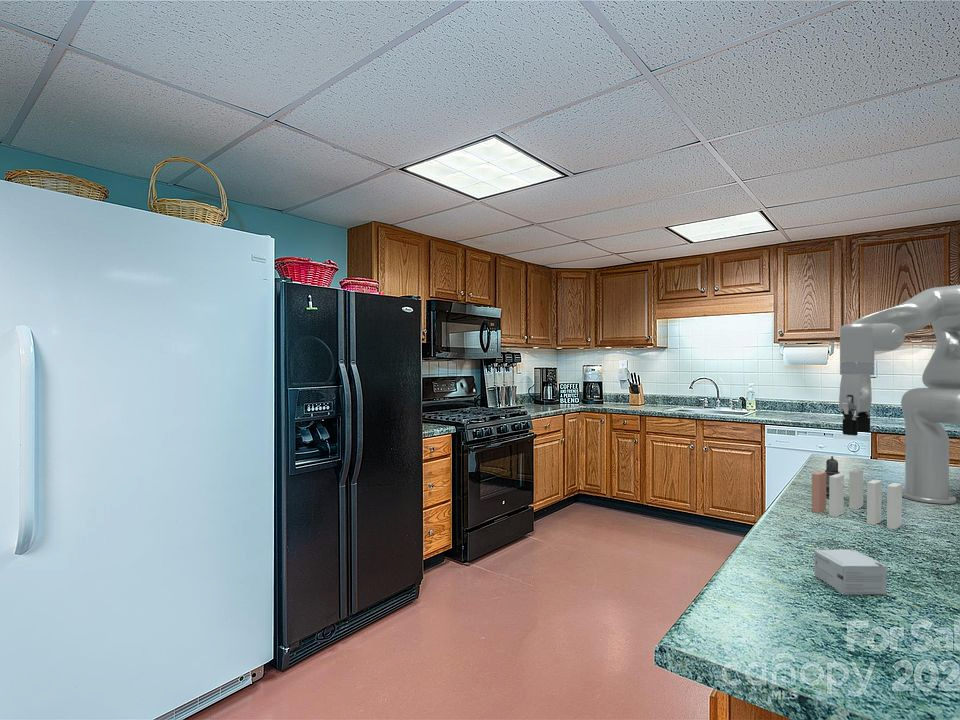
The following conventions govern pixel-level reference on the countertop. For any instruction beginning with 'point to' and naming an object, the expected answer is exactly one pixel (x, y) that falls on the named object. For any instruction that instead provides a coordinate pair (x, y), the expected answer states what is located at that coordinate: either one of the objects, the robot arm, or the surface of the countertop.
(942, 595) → the countertop surface
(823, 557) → the small box
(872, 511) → the domino
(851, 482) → the domino
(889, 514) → the domino
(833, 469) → the dark grey ornamental finial
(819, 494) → the end domino
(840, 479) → the domino
